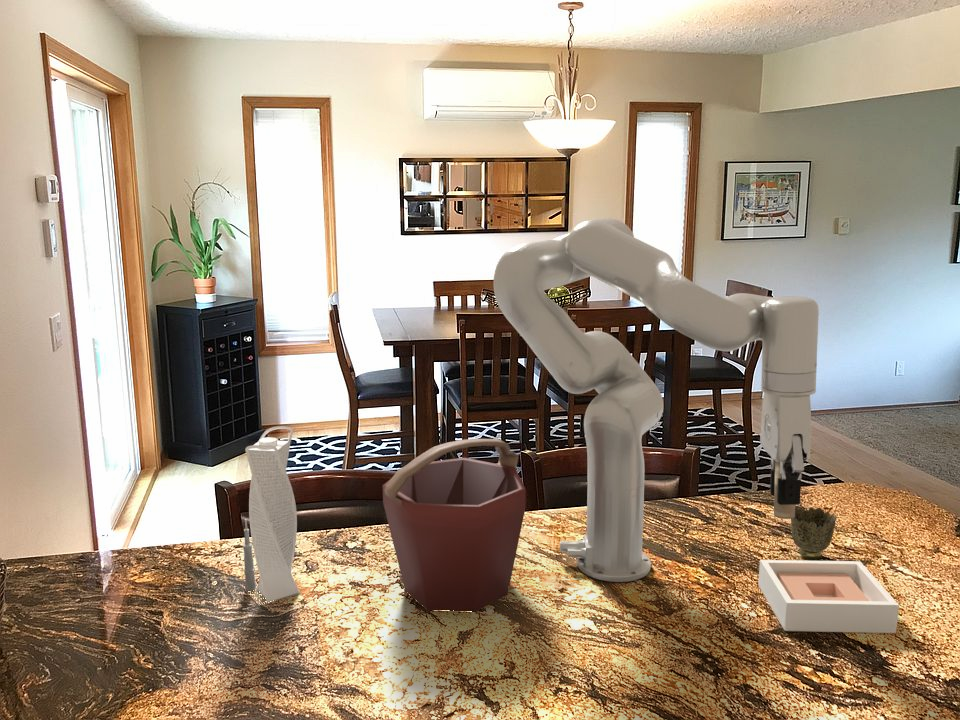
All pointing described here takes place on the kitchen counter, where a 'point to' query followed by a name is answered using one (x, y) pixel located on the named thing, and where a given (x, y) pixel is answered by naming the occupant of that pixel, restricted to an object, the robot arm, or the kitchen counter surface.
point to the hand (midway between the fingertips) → (784, 498)
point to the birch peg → (779, 510)
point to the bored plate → (820, 586)
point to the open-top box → (829, 613)
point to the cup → (812, 531)
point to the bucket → (456, 525)
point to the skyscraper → (270, 520)
